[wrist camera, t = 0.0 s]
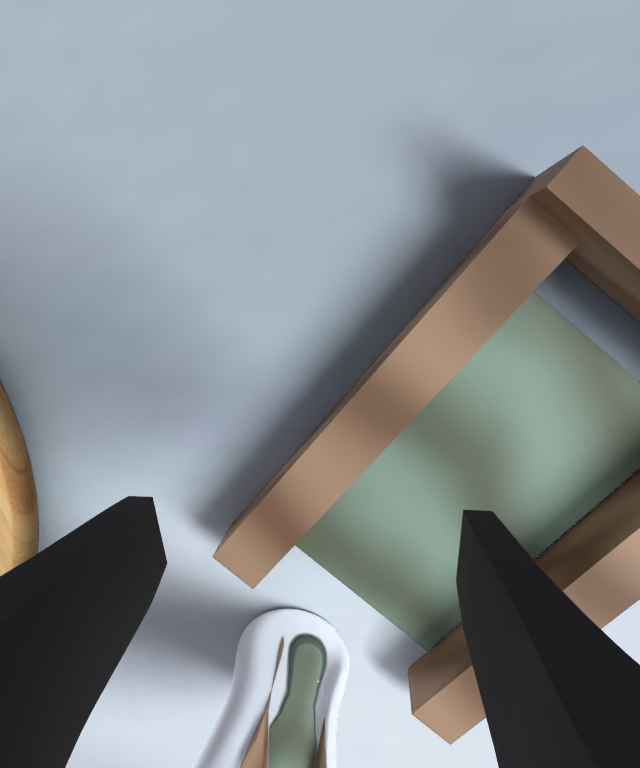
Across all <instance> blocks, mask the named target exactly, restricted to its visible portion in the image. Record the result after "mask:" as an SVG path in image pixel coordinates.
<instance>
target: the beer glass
mask: <svg viewBox="0 0 640 768" xmlns="http://www.w3.org/2000/svg"><path fill="white" fill-rule="evenodd" d="M349 667H350V660H349V654H348V650H347V647H346V644H345V642H344V640H343V639H342V637H341V636H340V634H339V633H338V632H337V630H336V629H335V628H334V627H333V626H332V625H330V624H329V623H328V622H327V621H325V620H324V619H322V618H320V617H319V616H317V615H315V614H312V613H310V612H307V611H303V610H298V609H276V610H272V611H269V612H266V613H263V614H261V615H259V616H258V617H256V618H255V619H254V620H252V621H251V622H250V623H249V624H248V626H247V627H246V628H245V630H244V631H243V633H242V635H241V637H240V640H239V643H238V648H237V653H236V659H235V665H234V672H233V678H232V683H231V687H230V690H229V693H228V696H227V699H226V701H225V704H224V706H223V709H222V711H221V713H220V715H219V717H218V719H217V721H216V723H215V725H214V726H213V728H212V730H211V732H210V734H209V736H208V737H207V739H206V741H205V743H204V744H203V746H202V748H201V750H200V751H199V753H198V755H197V757H196V758H195V760H194V762H193V764H192V766H191V767H190V768H337V754H336V728H337V720H338V713H339V709H340V704H341V701H342V697H343V694H344V691H345V687H346V683H347V679H348V675H349Z"/></svg>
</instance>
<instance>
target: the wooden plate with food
mask: <svg viewBox="0 0 640 768" xmlns="http://www.w3.org/2000/svg"><path fill="white" fill-rule="evenodd" d="M38 538H39V520H38V507H37V494H36V489H35V483H34V478H33V473H32V468H31V463H30V459H29V455H28V452H27V448H26V444H25V440H24V437H23V435H22V432H21V429H20V426H19V424H18V421H17V418H16V415H15V413H14V410H13V408H12V406H11V403H10V401H9V399H8V396H7V394H6V392H5V390H4V388H3V386H2V383H1V381H0V576H1V575H3V574H5V573H6V572H8V571H10V570H11V569H13V568H15V567H16V566H18V565H20V564H21V563H23V562H25V561H26V560H28V559H30V558H31V557H33V556H35V555H36V554H37V551H38Z"/></svg>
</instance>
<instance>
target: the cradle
mask: <svg viewBox="0 0 640 768" xmlns="http://www.w3.org/2000/svg"><path fill="white" fill-rule="evenodd" d="M565 258H566V259H567V260H568V261H569V262H570V263H571V264H573V265H574V266H575V267H576V268H577V269H578V270H579V271H581V272H582V273H583V274H584V275H585V276H586V277H587V278H589V279H590V280H591V281H592V282H593V283H594V284H595V285H597V286H598V287H599V288H600V289H601V290H602V291H603V292H605V293H606V294H607V295H608V296H609V297H610V298H611V299H613V300H614V301H615V302H616V303H617V304H618V305H619V306H621V307H622V308H623V309H624V310H625V311H626V312H627V313H629V314H630V315H631V316H632V317H633V318H634V319H635V320H637V321H638V322H639V323H640V196H639V195H638V194H637V193H636V192H635V191H634V190H633V189H631V188H630V187H629V186H628V185H627V184H626V183H625V182H624V181H623V180H621V179H620V178H619V177H618V176H617V175H616V174H615V173H614V172H612V171H611V170H610V169H609V168H608V167H607V166H606V165H605V164H604V163H602V162H601V161H600V160H599V159H598V158H597V157H596V156H595V155H593V154H592V153H591V152H590V151H589V150H588V149H587V148H586V147H585V146H581V147H580V148H578V149H577V150H575V151H574V152H572V153H571V154H569V155H568V156H566V157H565V158H563V159H562V160H560V161H559V162H557V163H556V164H554V165H553V166H551V167H550V168H548V169H547V170H545V171H544V172H542V173H541V174H539V175H538V176H536V177H535V179H534V180H533V181H532V182H531V183H530V184H529V185H528V187H527V188H526V189H525V190H524V191H523V192H522V193H521V195H520V196H519V197H518V198H517V199H516V200H515V201H514V203H513V204H512V205H511V206H510V207H509V208H508V210H507V211H506V212H505V213H504V214H503V215H502V216H501V218H500V219H499V220H498V221H497V222H496V223H495V224H494V226H493V227H492V228H491V229H490V230H489V231H488V232H487V234H486V235H485V236H484V237H483V238H482V239H481V240H480V242H479V243H478V244H477V245H476V246H475V247H474V248H473V250H472V251H471V252H470V253H469V254H468V255H467V256H466V258H465V259H464V260H463V261H462V262H461V263H460V264H459V266H458V267H457V268H456V269H455V270H454V271H453V272H452V274H451V275H450V276H449V277H448V278H447V279H446V281H445V282H444V283H443V284H442V285H441V286H440V287H439V289H438V290H437V291H436V292H435V293H434V294H433V295H432V297H431V298H430V299H429V300H428V301H427V302H426V303H425V305H424V306H423V307H422V308H421V309H420V310H419V311H418V313H417V314H416V315H415V316H414V317H413V318H412V319H411V321H410V322H409V323H408V324H407V325H406V326H405V327H404V329H403V330H402V331H401V332H400V333H399V334H398V335H397V337H396V338H395V339H394V340H393V341H392V342H391V343H390V345H389V346H388V347H387V348H386V349H385V350H384V352H383V353H382V354H381V355H380V356H379V357H378V358H377V360H376V361H375V362H374V363H373V364H372V365H371V366H370V368H369V369H368V370H367V371H366V372H365V373H364V374H363V376H362V377H361V378H360V379H359V380H358V381H357V382H356V384H355V385H354V386H353V387H352V388H351V389H350V390H349V392H348V393H347V394H346V395H345V396H344V397H343V398H342V400H341V401H340V402H339V403H338V404H337V405H336V406H335V408H334V409H333V410H332V411H331V412H330V413H329V414H328V416H327V417H326V418H325V419H324V420H323V421H322V423H321V424H320V425H319V426H318V427H317V428H316V429H315V431H314V432H313V433H312V434H311V435H310V436H309V437H308V439H307V440H306V441H305V442H304V443H303V444H302V445H301V447H300V448H299V449H298V450H297V451H296V452H295V453H294V455H293V456H292V457H291V458H290V459H289V460H288V461H287V463H286V464H285V465H284V466H283V467H282V468H281V469H280V471H279V472H278V473H277V474H276V475H275V476H274V477H273V479H272V480H271V481H270V482H269V483H268V484H267V486H266V487H265V488H264V489H263V490H262V491H261V492H260V494H259V495H258V496H257V497H256V498H255V499H254V500H253V502H252V503H251V504H250V505H249V506H248V507H247V508H246V510H245V511H244V512H243V513H242V514H241V515H240V516H239V518H238V519H237V520H236V521H235V522H234V523H233V524H232V526H231V527H230V528H229V530H228V531H227V533H226V535H225V536H224V538H223V540H222V541H221V543H220V545H219V546H218V548H217V550H216V552H215V553H214V555H213V558H214V559H215V560H217V561H218V562H219V563H220V564H222V565H223V566H224V567H226V568H227V569H228V570H229V571H231V572H232V573H233V574H234V575H236V576H237V577H238V578H240V579H241V580H242V581H243V582H245V583H246V584H247V585H248V586H250V587H251V588H252V589H254V588H255V587H256V586H257V585H258V583H259V582H260V581H261V580H262V579H263V578H264V577H265V576H266V575H267V574H268V573H269V572H270V571H271V570H272V569H273V568H274V566H275V565H276V564H277V563H278V562H279V561H280V560H281V559H282V558H283V557H284V556H285V555H286V554H287V553H288V552H289V551H290V550H291V548H292V547H293V546H294V545H296V546H297V547H298V548H299V549H301V550H302V551H303V552H304V553H306V554H307V555H308V556H309V557H311V558H312V559H313V560H314V561H316V562H317V563H318V564H319V565H321V566H322V567H323V568H324V569H326V570H327V571H328V572H329V573H331V574H332V575H333V576H334V577H336V578H337V579H338V580H339V581H341V582H342V583H343V584H344V585H346V586H347V587H348V588H349V589H351V590H352V591H353V592H354V593H356V594H357V595H358V596H359V597H361V598H362V599H363V600H364V601H366V602H367V603H368V604H369V605H371V606H372V607H373V608H374V609H376V610H377V611H378V612H379V613H381V614H382V615H383V616H384V617H386V618H387V619H388V620H389V621H391V622H392V623H393V624H394V625H396V626H397V627H398V628H399V629H401V630H402V631H403V632H404V633H406V634H407V635H408V636H409V637H411V638H412V639H413V640H414V641H416V642H417V643H418V644H419V645H421V646H422V647H423V648H424V649H426V650H428V649H430V648H431V647H432V646H433V645H434V644H435V643H437V642H438V641H439V640H440V639H441V638H442V637H444V636H445V635H446V634H447V633H448V632H449V631H450V630H452V629H453V628H454V627H455V626H456V625H457V624H459V623H460V622H461V621H462V619H461V612H460V606H459V599H458V592H457V585H456V575H457V565H458V555H459V545H460V535H461V526H462V516H463V510H482V511H493V512H494V513H495V514H496V515H497V517H498V518H499V519H500V520H501V521H502V523H503V524H504V525H505V526H506V527H507V529H508V530H509V531H510V532H511V533H512V534H513V536H514V537H515V538H516V539H517V540H518V542H519V543H520V544H521V545H522V546H523V547H524V549H525V550H526V551H527V552H528V553H529V554H530V555H531V557H532V558H533V559H534V558H535V557H537V556H538V555H539V554H540V553H541V552H542V551H544V550H545V549H546V548H547V547H548V546H549V545H550V544H552V543H553V542H554V541H555V540H556V539H557V538H559V537H560V536H561V535H562V534H563V533H564V532H566V531H567V530H568V529H569V528H570V527H571V526H573V525H574V524H575V523H576V522H577V521H578V520H580V519H581V518H582V517H583V516H584V515H585V514H587V513H588V512H589V511H590V510H591V509H592V508H594V507H595V506H596V505H597V504H598V503H599V502H601V501H602V500H603V499H604V498H605V497H606V496H607V495H609V494H610V493H611V492H612V491H613V490H614V489H616V488H617V487H618V486H619V485H620V484H621V483H623V482H624V481H625V480H626V479H627V478H628V477H630V476H631V475H632V474H633V473H634V472H635V471H637V470H638V469H639V468H640V382H639V381H637V380H636V379H635V378H634V377H633V376H632V375H631V374H629V373H628V372H627V371H626V370H625V369H624V368H622V367H621V366H620V365H619V364H618V363H617V362H616V361H614V360H613V359H612V358H611V357H610V356H609V355H607V354H606V353H605V352H604V351H603V350H602V349H601V348H599V347H598V346H597V345H596V344H595V343H594V342H592V341H591V340H590V339H589V338H588V337H587V336H586V335H584V334H583V333H582V332H581V331H580V330H579V329H577V328H576V327H575V326H574V325H573V324H572V323H571V322H569V321H568V320H567V319H566V318H565V317H564V316H562V315H561V314H560V313H559V312H558V311H557V310H555V309H554V308H553V307H552V306H551V305H550V304H549V303H547V302H546V301H545V300H544V299H543V298H542V297H540V296H539V295H538V294H537V293H536V292H535V290H536V289H537V287H538V286H539V285H540V284H541V283H542V282H543V281H544V280H545V279H546V278H547V277H548V276H549V275H550V274H551V273H552V272H553V270H554V269H555V268H556V267H557V266H558V265H559V264H560V263H561V262H562V261H563V260H564V259H565ZM535 561H536V562H537V563H538V565H539V566H540V567H541V568H542V569H543V570H544V571H545V572H546V573H547V574H548V576H549V577H550V578H551V579H552V580H553V581H554V582H555V583H556V584H557V585H558V586H559V587H560V588H561V590H562V591H563V592H564V593H565V594H566V595H567V596H568V597H569V598H570V599H571V600H572V601H573V602H574V603H575V604H576V605H577V606H578V607H579V608H580V609H581V610H582V611H583V612H584V613H585V614H586V615H587V616H588V617H589V618H590V619H591V620H592V621H593V622H594V623H595V624H596V625H597V626H598V627H599V628H600V629H602V628H603V627H604V626H606V625H607V624H608V623H609V622H611V621H612V620H613V619H615V618H616V617H617V616H619V615H620V614H621V613H622V612H624V611H625V610H626V609H628V608H629V607H630V606H632V605H633V604H634V603H636V602H637V601H638V600H639V599H640V470H639V471H638V472H637V473H636V474H635V475H633V476H632V477H631V478H630V479H629V480H628V481H626V482H625V483H624V484H623V485H622V486H621V487H620V488H618V489H617V490H616V491H615V492H614V493H613V494H611V495H610V496H609V497H608V498H607V499H606V500H604V501H603V502H602V503H601V504H600V505H599V506H597V507H596V508H595V509H594V510H593V511H592V512H590V513H589V514H588V515H587V516H586V517H585V518H583V519H582V520H581V521H580V522H579V523H578V524H576V525H575V526H574V527H573V528H572V529H571V530H569V531H568V532H567V533H566V534H565V535H564V536H562V537H561V538H560V539H559V540H558V541H557V542H555V543H554V544H553V545H552V546H551V547H550V548H548V549H547V550H546V551H545V552H544V553H543V554H541V555H540V556H539V557H538V558H537V559H536V560H535ZM408 676H409V688H410V699H411V710H412V715H413V716H415V717H416V718H417V719H418V720H420V721H421V722H422V723H423V724H425V725H426V726H427V727H429V728H430V729H431V730H432V731H434V732H435V733H436V734H437V735H439V736H440V737H441V738H443V739H444V740H445V741H446V742H448V743H449V744H450V745H451V744H452V743H453V742H455V741H456V740H457V739H459V738H460V737H461V736H462V735H464V734H465V733H466V732H468V731H469V730H470V729H472V728H473V727H474V726H475V725H477V724H478V723H479V722H481V721H482V720H483V719H485V718H486V714H485V711H484V707H483V703H482V699H481V695H480V692H479V688H478V684H477V680H476V676H475V673H474V669H473V665H472V661H471V657H470V653H469V650H468V646H467V642H466V638H465V634H464V630H463V625H462V623H461V624H460V625H459V626H458V627H456V628H455V629H454V630H453V631H452V632H451V633H449V634H448V635H447V636H446V637H445V638H444V639H442V640H441V641H440V642H439V643H438V644H437V645H435V646H434V647H433V648H432V649H431V650H430V651H428V652H427V653H426V654H425V655H424V656H423V657H421V658H420V659H419V660H418V661H417V662H416V663H414V664H413V665H412V666H411V667H410V668H409V669H408Z"/></svg>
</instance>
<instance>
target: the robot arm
mask: <svg viewBox="0 0 640 768" xmlns="http://www.w3.org/2000/svg"><path fill="white" fill-rule="evenodd" d="M166 565H167V560H166V555H165V551H164V546H163V542H162V537H161V533H160V529H159V524H158V520H157V515H156V511H155V506H154V502H153V497H137V496H128V497H126V498H125V499H123V500H121V501H119V502H118V503H116V504H114V505H113V506H111V507H109V508H108V509H106V510H105V511H103V512H101V513H100V514H98V515H97V516H95V517H94V518H92V519H91V520H89V521H87V522H86V523H84V524H83V525H81V526H80V527H78V528H77V529H75V530H74V531H72V532H71V533H69V534H67V535H66V536H64V537H63V538H61V539H60V540H58V541H57V542H55V543H53V544H52V545H50V546H49V547H47V548H46V549H44V550H43V551H41V552H39V553H38V554H36V555H35V556H33V557H31V558H30V559H28V560H26V561H25V562H23V563H21V564H20V565H18V566H16V567H15V568H13V569H11V570H10V571H8V572H6V573H5V574H3V575H1V576H0V768H65V766H66V764H67V762H68V760H69V758H70V755H71V753H72V751H73V749H74V747H75V744H76V742H77V740H78V738H79V736H80V733H81V731H82V729H83V727H84V725H85V723H86V722H87V720H88V718H89V716H90V714H91V712H92V710H93V708H94V706H95V704H96V702H97V701H98V699H99V697H100V695H101V693H102V692H103V690H104V688H105V686H106V685H107V683H108V681H109V679H110V677H111V676H112V674H113V672H114V670H115V668H116V667H117V665H118V663H119V661H120V660H121V658H122V656H123V654H124V652H125V651H126V649H127V647H128V645H129V643H130V642H131V640H132V638H133V636H134V634H135V633H136V631H137V629H138V627H139V625H140V624H141V622H142V620H143V618H144V616H145V614H146V612H147V611H148V609H149V607H150V605H151V603H152V600H153V598H154V595H155V593H156V591H157V588H158V586H159V583H160V581H161V578H162V576H163V573H164V571H165V568H166ZM456 585H457V592H458V599H459V606H460V612H461V619H462V625H463V630H464V634H465V638H466V642H467V646H468V650H469V653H470V657H471V661H472V665H473V669H474V673H475V676H476V680H477V684H478V688H479V692H480V695H481V699H482V703H483V707H484V711H485V714H486V718H487V722H488V726H489V729H490V733H491V737H492V741H493V745H494V749H495V753H496V757H497V762H498V766H499V768H640V665H639V664H638V663H637V662H636V661H634V660H633V659H632V658H631V657H630V656H629V655H628V654H626V653H625V652H624V651H623V650H622V649H621V648H620V647H619V646H618V645H617V644H616V643H614V642H613V641H612V640H611V639H610V638H609V637H608V636H607V635H606V634H605V633H604V632H603V631H602V630H601V629H600V628H599V627H598V626H597V625H596V624H595V623H594V622H593V621H592V620H591V619H590V618H589V617H588V616H587V615H586V614H585V613H584V612H583V611H582V610H581V609H580V608H579V607H578V606H577V605H576V604H575V603H574V602H573V601H572V600H571V599H570V598H569V597H568V596H567V595H566V594H565V593H564V592H563V591H562V590H561V588H560V587H559V586H558V585H557V584H556V583H555V582H554V581H553V580H552V579H551V578H550V577H549V576H548V574H547V573H546V572H545V571H544V570H543V569H542V568H541V567H540V566H539V565H538V563H537V562H536V561H535V560H534V559H533V558H532V557H531V555H530V554H529V553H528V552H527V551H526V550H525V549H524V547H523V546H522V545H521V544H520V543H519V542H518V540H517V539H516V538H515V537H514V536H513V534H512V533H511V532H510V531H509V530H508V529H507V527H506V526H505V525H504V524H503V523H502V521H501V520H500V519H499V518H498V517H497V515H496V514H495V513H494V512H493V511H482V510H463V516H462V526H461V535H460V545H459V555H458V565H457V575H456Z"/></svg>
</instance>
